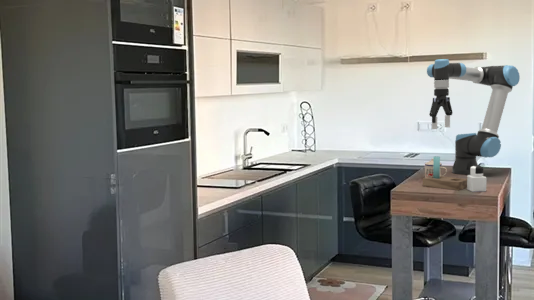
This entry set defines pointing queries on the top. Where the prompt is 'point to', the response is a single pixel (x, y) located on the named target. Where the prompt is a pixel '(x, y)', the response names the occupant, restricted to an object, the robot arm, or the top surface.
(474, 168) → the medicine bottle
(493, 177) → the top surface
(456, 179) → the walnut hole block
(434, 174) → the teal peg
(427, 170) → the teacup with lid
